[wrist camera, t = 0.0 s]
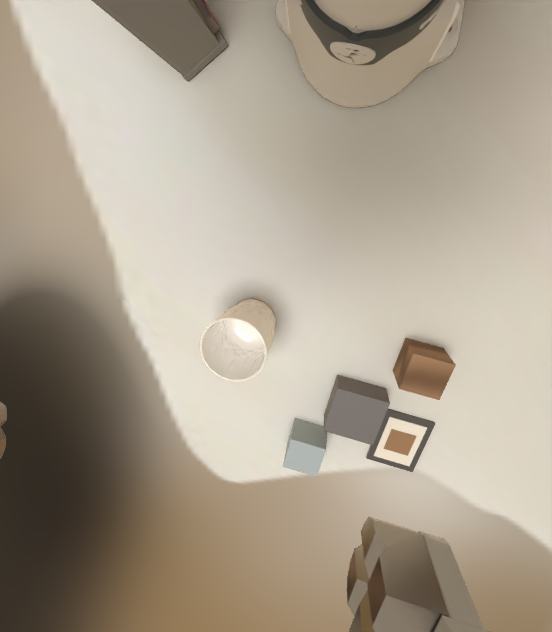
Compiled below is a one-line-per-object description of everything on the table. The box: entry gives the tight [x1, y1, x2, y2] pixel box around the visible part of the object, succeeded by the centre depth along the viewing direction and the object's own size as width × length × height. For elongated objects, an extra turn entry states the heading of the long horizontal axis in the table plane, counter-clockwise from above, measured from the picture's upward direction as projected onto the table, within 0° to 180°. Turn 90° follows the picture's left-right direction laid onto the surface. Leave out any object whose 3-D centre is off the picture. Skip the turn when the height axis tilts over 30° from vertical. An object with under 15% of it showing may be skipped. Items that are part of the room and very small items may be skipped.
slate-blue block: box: [283, 418, 327, 477], centre depth 51 cm, size 5×5×5 cm
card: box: [366, 409, 435, 472], centre depth 50 cm, size 9×7×1 cm
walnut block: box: [393, 338, 455, 400], centre depth 44 cm, size 5×5×5 cm
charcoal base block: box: [323, 375, 390, 445], centre depth 48 cm, size 7×7×4 cm
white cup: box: [200, 299, 276, 381], centre depth 43 cm, size 8×8×10 cm
